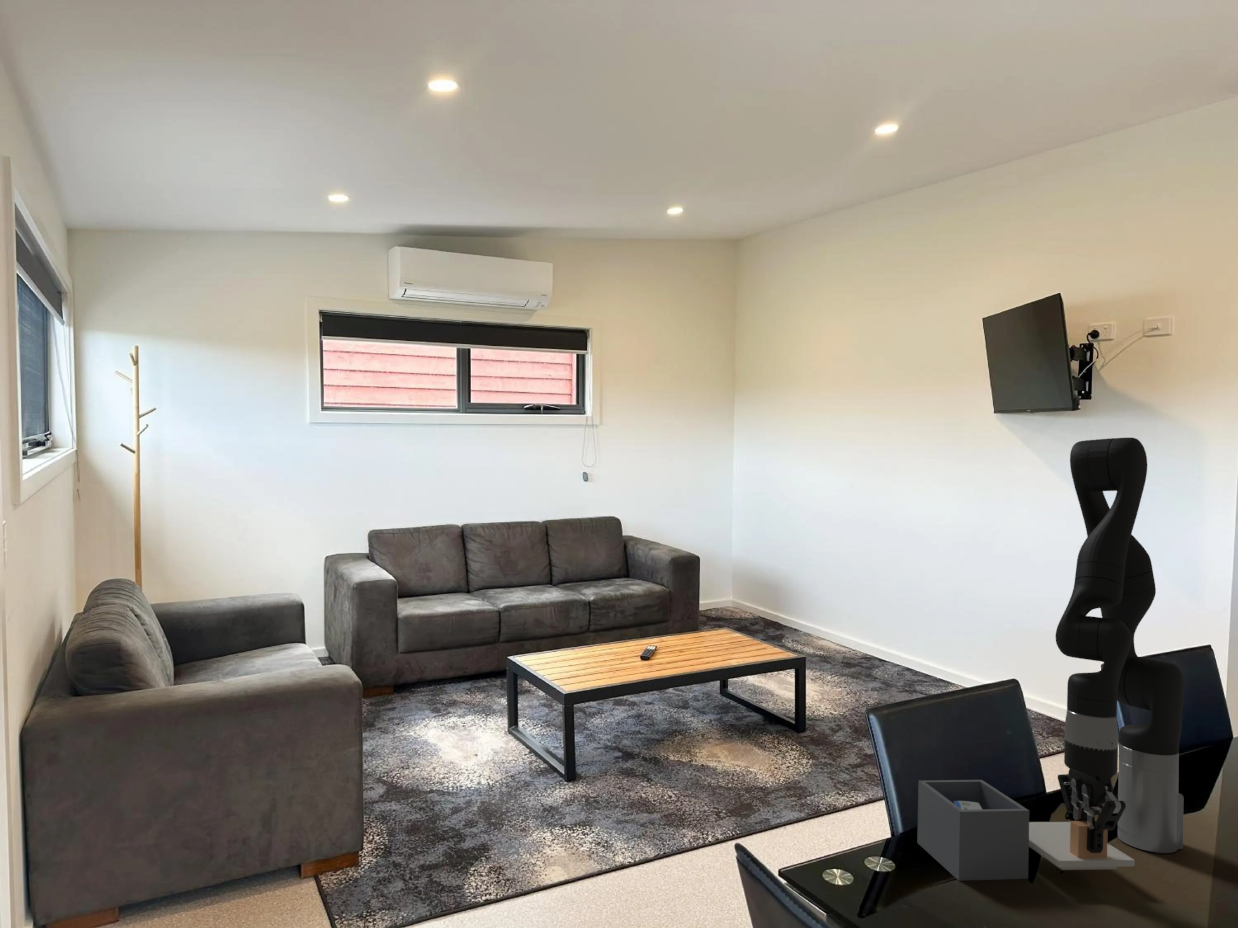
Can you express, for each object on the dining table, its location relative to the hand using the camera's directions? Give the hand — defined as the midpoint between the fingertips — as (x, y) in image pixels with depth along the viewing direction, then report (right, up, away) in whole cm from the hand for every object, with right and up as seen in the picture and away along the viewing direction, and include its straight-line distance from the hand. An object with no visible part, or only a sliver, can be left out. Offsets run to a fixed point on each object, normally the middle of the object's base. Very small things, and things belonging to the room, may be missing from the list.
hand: (1088, 847), depth 132 cm
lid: (-1, -3, +5) cm, 6 cm away
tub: (-16, -6, +8) cm, 19 cm away
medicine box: (-16, -6, +7) cm, 19 cm away
